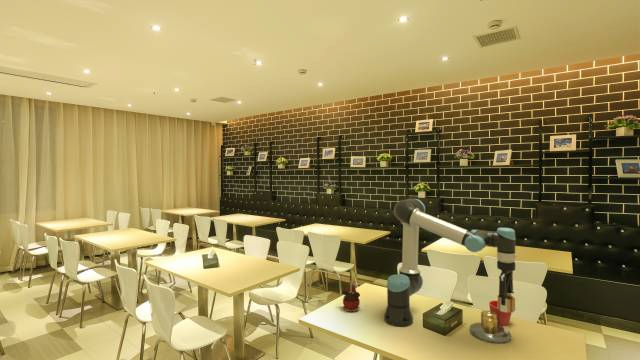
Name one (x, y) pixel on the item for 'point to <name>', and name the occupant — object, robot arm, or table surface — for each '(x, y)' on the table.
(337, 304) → the table surface
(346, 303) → the red vase
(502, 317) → the flower pot
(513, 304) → the gear
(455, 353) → the table surface
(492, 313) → the carrier
